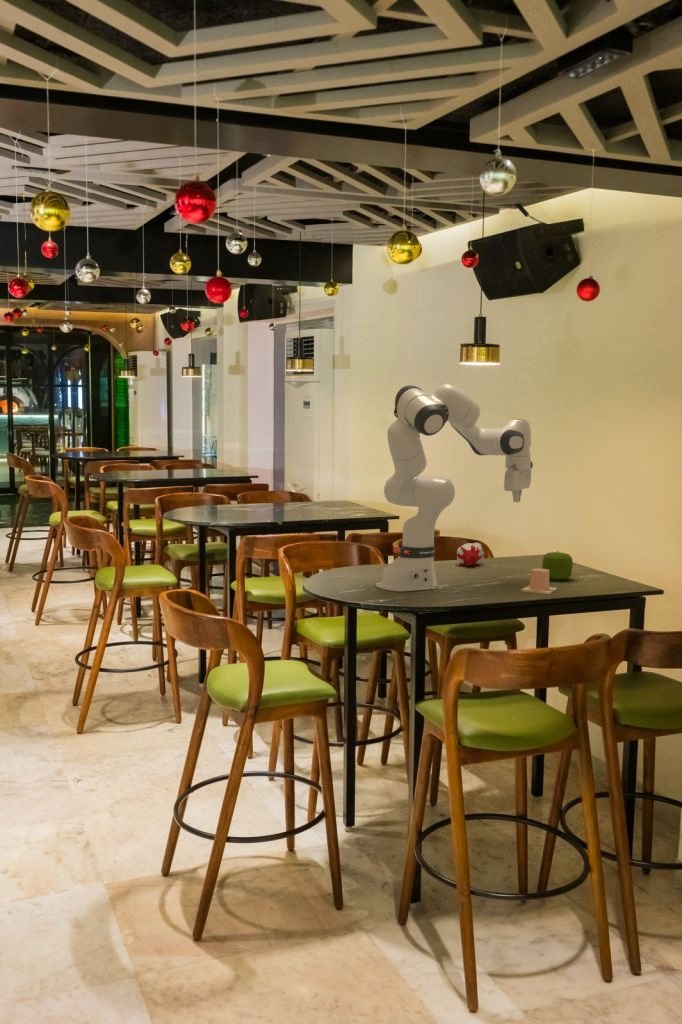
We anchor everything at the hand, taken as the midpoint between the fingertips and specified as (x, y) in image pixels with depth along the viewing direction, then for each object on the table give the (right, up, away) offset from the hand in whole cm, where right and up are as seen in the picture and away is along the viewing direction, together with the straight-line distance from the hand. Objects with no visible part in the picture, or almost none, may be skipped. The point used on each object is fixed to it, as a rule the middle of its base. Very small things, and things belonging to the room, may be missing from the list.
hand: (516, 502), depth 334 cm
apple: (+16, -29, +7) cm, 34 cm away
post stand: (+5, -31, -15) cm, 35 cm away
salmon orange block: (+5, -30, -15) cm, 34 cm away
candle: (-12, -26, +37) cm, 47 cm away
